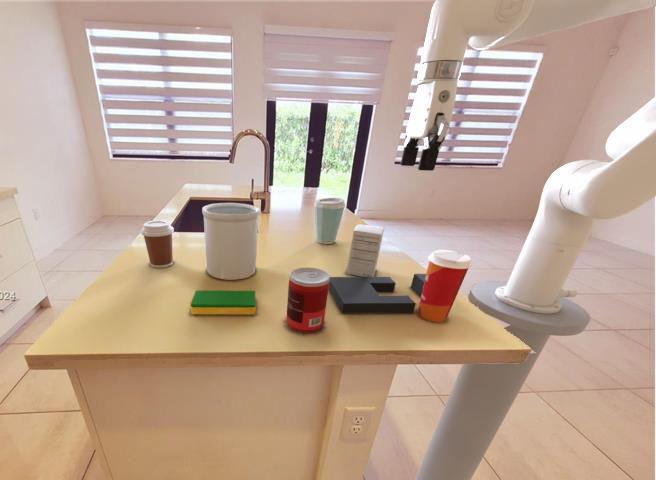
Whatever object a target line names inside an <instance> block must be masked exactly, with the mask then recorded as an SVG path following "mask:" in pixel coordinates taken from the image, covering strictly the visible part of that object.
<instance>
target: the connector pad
mask: <svg viewBox="0 0 656 480" xmlns="http://www.w3.org/2000/svg"><path fill="white" fill-rule="evenodd" d="M412 277H413V278H412V280H411V285H410V289H411V290H412V291H413V292H414V293H415V294H416V295H417V296H418V297H419V298H421V295H422V291H423V286H424V282H425V277H426V273H414V274H413V276H412Z"/></svg>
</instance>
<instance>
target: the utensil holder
mask: <svg viewBox="0 0 656 480" xmlns="http://www.w3.org/2000/svg"><path fill="white" fill-rule="evenodd" d="M260 212H261V211H260V208H259V207H258V206H255V205H251V204H248V203H238V202H219V203H211V204H207V205H204V206H203V207H202V209H201V213H202V215H203V227H204V229H203V230H204V231H203V232H204V244H205V258H206V259H205V260H206V270H207V273H208V274H209V275H210V276H211V277H213V278H216V279H219V280H227V281H236V280H243V279H247V278H250V277H251V276H252V275H254V274H255V273H256V267H257V254H258V231H259V216H260Z"/></svg>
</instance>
